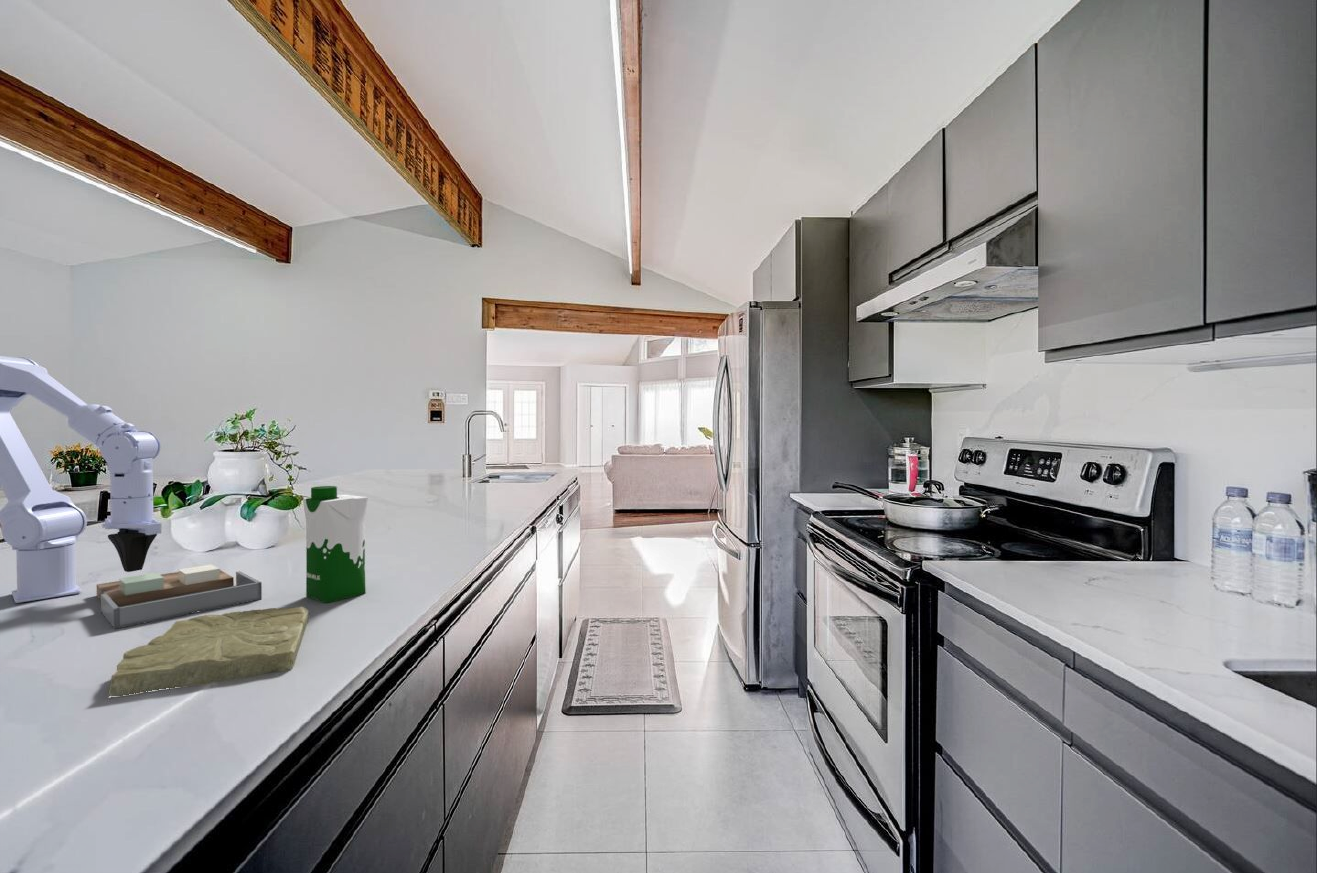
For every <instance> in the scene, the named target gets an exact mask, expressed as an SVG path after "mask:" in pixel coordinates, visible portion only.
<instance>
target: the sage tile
mask: <svg viewBox="0 0 1317 873" xmlns="http://www.w3.org/2000/svg"><path fill="white" fill-rule="evenodd" d="M119 581H120V591H121V592H122V593H123V594H124V595H130V594H136V593H142V592H148V591H154V590H160V589H164V577H162V576H161V573H158V572H154V573H147V574H141V575H140V574H139V575H132V576H127V577H120V578H119Z"/></svg>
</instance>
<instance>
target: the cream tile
mask: <svg viewBox="0 0 1317 873" xmlns="http://www.w3.org/2000/svg"><path fill="white" fill-rule="evenodd" d="M220 570H221V569H220V568H219V567H218V566H215V565H214V564H205V565H200V566H199V565H198V566H193V567H186V568H181V569H180V568H179V569H178V572H179V581H181V582H182V583H183V584H185V585H189V584H195V583H201V582H206V581H212V580H218V579H220Z"/></svg>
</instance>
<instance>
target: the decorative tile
mask: <svg viewBox="0 0 1317 873" xmlns="http://www.w3.org/2000/svg"><path fill="white" fill-rule="evenodd" d="M309 614H310V613H309V609H307V608H306V607H304V606H296V607H288V608H287V607H286V608H285V607H284V608H283V607H280V608H279V607H278V608H277V607H269V608H265V609H252V610H244V611H232V612H226V613H223V614H206V615H198V616H195V617H192V618H188V619H185V620H183V619H182V620H178V621H175V622H174V623H173V624H172V625H171V627H170V628H169V629H167V631H165V633H163V634H162V635H159V636H156V637H155V638H154V637H153V639H151V640H150V641H148V643H147V644H145V645H144V644H143V645H140V646H136V647H135V648H131V649H129V650H128V651H125V652H123V656H122V659H121V660H120V662H119V663H117V665H116V672H115V673H113V674H112V676H111V677H110V678H111V679H110V686H109V691H108V694H107V695H108V696H123V695H129V694H134V693H135V694H136V693H140V692H146V691H147V692H148V691H152V690H159V689H166V688H169V690H171V689H170V688H175V687H182V688H184V687H183V686H188V687H195V686H200V685H206V684H211V683H217V682H218V683H219V682H224V681H231V680H237V679H238V680H239V679H244V678H249V677H256V676H262V675H266V674H267V675H268V674H274V673H281V672H286V671H287V672H288V671H291V670H292V669H294V666H295V664H296V660H297V658H298V654H299V651H300V648H301V645H302V641H303V638H304V635H305V631H306V629H307V625H308V623H309ZM108 696H107V697H108Z"/></svg>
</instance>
